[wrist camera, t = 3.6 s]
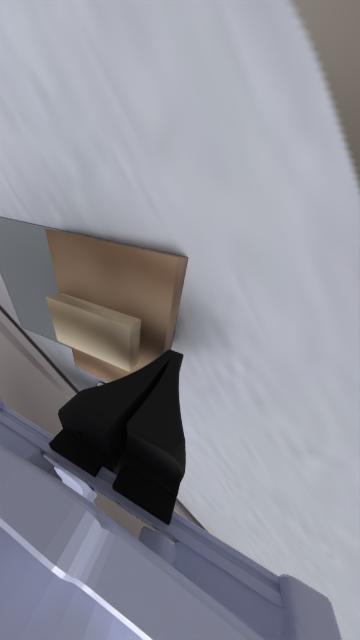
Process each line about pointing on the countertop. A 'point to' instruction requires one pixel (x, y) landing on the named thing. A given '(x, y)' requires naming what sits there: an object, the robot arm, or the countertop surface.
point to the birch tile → (96, 330)
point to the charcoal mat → (28, 274)
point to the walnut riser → (120, 290)
